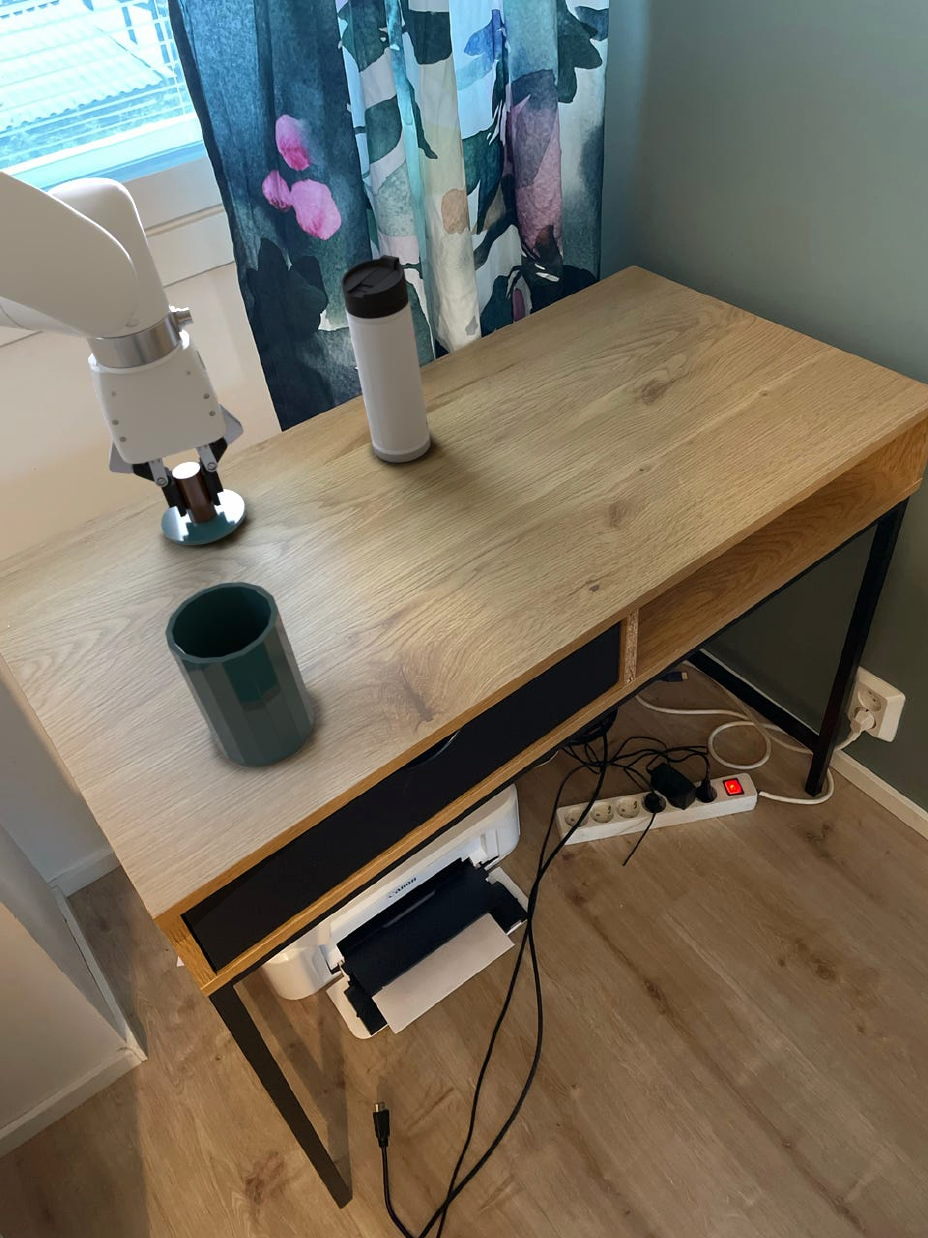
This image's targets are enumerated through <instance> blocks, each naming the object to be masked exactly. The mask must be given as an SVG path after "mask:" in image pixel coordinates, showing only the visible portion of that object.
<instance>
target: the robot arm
mask: <svg viewBox="0 0 928 1238" xmlns="http://www.w3.org/2000/svg"><path fill="white" fill-rule="evenodd" d="M192 324H194V320H193V318H192V315H191V312H190V309H189V308H188V307H186V308H183V309H180V308H176V309H175V307H174V305H173V306H171V305H170V302H169V298H168V296H167V294H166V289H165V288H164V284H163V282H162V279H161V276H160V273H159V271H158V268H157V265H156V262H155V259H154V257H153V253H152V251H151V248H150V244H149V242H148V239H147V236H146V233H145V230H144V228H143V224H142V222H141V219H140V215H139V213H138V209H137V207H136V204H135V202H134V200H133V197H132V196H131V194H130V192H129V191H128V189H127V188H126V187H125V186H124V185H123V184H121V183H119V182H118V181H116V180H114V179H111V178H104V177H88V178H80V179H75V180H72V181H71V180H70V181H67V182H65V183H62V184H59V185H57V186H54V187H53V188H51V189H49V190H48V191H44V190H42V189H40V188H39V187H36V186H34V185H32V184H30V183H29V182H26V181H25V180H22V179H20V178H18V177H15V176H13V175H11V174H8V173H6V172H4V171H2V170H0V327H5V328H11V329H19V330H25V331H35V332H44V333H51V334H59V335H66V336H72V337H77V338H85V339H86V342H87V344H88V346H89V348H90V350H91V354H90V355H89V356H88V358H87V364H88V369H89V375H90V378H91V382H92V384H93V388H94V392H95V395H96V397H97V400H98V403H99V406H100V409H101V413H102V415H103V418H104V420H105V423H106V426H107V428H108V431H109V433H110V436H111V437H110V443H109V450H108V457H107V458H108V459H107V465H108V469H109V471H110V472H112V473H116V474H127V475H131V474H134V475H135V476H137V477H140V478H142V479H145V480H147V481H150V482H153V483H154V484H155V485H156V486H157V487H159V488H161V491H162V493H163V496H164V498H165V500H166V502H167V505H168V508H172V507H175V506H176V507H177V509H178V512H179V514H180V517H184V516H186V514H187V511H186V508H185V505H184V503H183V500H182V498H181V495H180V493H179V490H178V488H177V485H176V483H175V480H174V478H173V476H172V471H173V470H172V469H170V468H169V467H167V466H165V464H164V462H163V458H166V457H169V456H173V455H176V454H180V453H182V452H183V453H184V452H187V451H189V450H193V449H195V450H196V451H197V453H198V455H199V457H198V459H199V461H198V463H197V464H199V465H200V467H201V471H202V474H203V477H204V480H205V483H206V485H207V488H208V491H209V493H210V496H211V499H212V501H213V504H214V506H215V505H216V506H220V505H221V502H220V499H219V496H218V494H217V493H221V492H224V490H223V489H224V487H223V484H222V481H221V479H220V476H219V473H218V471H217V470H218V468H219V462H220V461H221V460H222V458H223V456H224V454H225V452H226V451H227V449H228V446H229V445H230V444H231V445H232V444H233V443H235V441H236V440H237V439H238V438H240V437H241V436H242V435H243V434H244V433H245V432H244V428H243V424H242V423H241V421H239V419H237V418H236V416H234V415H233V414H232V413H231V412H229V410H228V409H226V408H225V407H224V406H223V405H222V404H221V403H220V402H219V399H218V396H217V393H216V390H215V388H214V385H213V383H212V381H211V378H210V376H209V373H208V370H207V368H206V366H205V363H204V361H203V359H202V356H201V355H200V352H199V350H198V348H197V346H196V345H195V342H194V341H193V340H192V338H191V335H190V334H189V333H188V332H187V331H186V330H184V329H183V328H187V326H189V325H192Z"/></svg>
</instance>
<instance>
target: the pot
mask: <svg viewBox="0 0 928 1238" xmlns="http://www.w3.org/2000/svg"><path fill="white" fill-rule="evenodd" d="M164 635H165V638H166V643H167V647H168V649H169V651H170V653H171V655H172V657H173V659H174V661H175V664H176V665H177V667H178V669H179V672H180V673H181V675H182V677H183V679H184V682H185V684H186V685H187V688H188V689H189V691H190V693H191V695H192V698H193V700H194V701H195V704H196V705H197V708H198V709H199V711H200V713H201V715H202V717H203V720H204V722H205V723H206V726H207V728H208V730H209V732H210V734H211V736H212V738H213V740H214V742H215V744H216V745H217V748H218V749H219V750H220V751H221V753H222V754H223V756H225V757H226V758H227V759H228V760H229V761H231V762H233V763H235V764H238V765H239V766H244V767H250V768H251V767H253V768H254V767H255V768H256V767H257V768H259V767H267V766H271V765H275V764H277V763H279V762H282V761H285V760H286V759H288V758H290V757H291V756H293V755H294V754H295V753H296V752H298V751H299V750H300V749H301V748H302V747H303V746H304V745H305V744H306V742H307V741H308V740H309V738H310V736H311V734H312V731H313V729H314V725H315V711H314V707H313V704H312V701H311V698H310V696H309V692H308V690H307V687H306V685H305V682H304V678H303V675H302V673H301V670H300V667H299V665H298V662H297V659H296V656H295V653H294V649H293V648H292V645H291V642H290V639H289V636H288V634H287V630H286V628H285V624H284V622H283V619H282V617H281V614H280V611H279V607H278V605H277V603H276V600H275V597H274V595H273V594H271V593H270V592H269V591H268V590H266V589H265V588H263V586H261V585H257V584H254V583H249V582H247V581H246V582H245V581H236V582H222V583H219V584H215V585H212V586H209V587H206V588H203V589H201V590H199V591H197V592H196V593H194V594H193V595H191V596H190V597H188V598H187V599H185V600H183V601H182V603H181V604H179V605H178V607H177V608H176V609H175V610H174V612H172V614H171V615H170V616H169V618H168V622H167V626H166V628H165V633H164Z"/></svg>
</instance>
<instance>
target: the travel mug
mask: <svg viewBox="0 0 928 1238" xmlns="http://www.w3.org/2000/svg"><path fill="white" fill-rule="evenodd" d="M406 279H407V278H406V272H405V267H404V266H403V264H402V263H401V261H400V257H398V256H394V255H388V254H383V255H381V256H379V258H373V259H369V260H365V261H362V262H360V263H358V264H356V265H354V266H353V267H351V268H350V269H348V270H347V271H346V272H345V273H344V274H343V276H342V278H341V281H340V286H341V292H342V297H343V300H344V306H345V313H346V319H347V323H348V329H349V333H350V334H349V335H350V339H351V343H352V344H351V345H352V348H353V352H354V359H355V363H356V369H357V374H358V379H359V383H360V387H361V388H360V389H361V392H362V398H363V402H364V403H363V404H364V406H365V407H364V408H365V412H366V417H367V423H368V427H369V431H370V436H371V442H372V447H373V452H374V453H375V455H376V456H377V457H378V458H379V459H381V460H383V461H386V462H390V463H407V462H411V461H413V460H416V459H418V458H420V457H422V456H423V455H424V454H425V453H426V452H427V451H428V450H429V449H430V446H431V437H430V431H429V430H430V429H429V424H428V422H429V421H428V416H427V409H426V402H425V396H424V390H423V382H422V377H421V367H420V362H419V355H418V350H417V349H418V347H417V342H416V336H415V329H414V322H413V316H412V315H413V313H412V308H411V302H410V297H409V292H408V286H407V280H406Z"/></svg>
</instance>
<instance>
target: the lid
mask: <svg viewBox="0 0 928 1238" xmlns="http://www.w3.org/2000/svg"><path fill="white" fill-rule="evenodd" d="M171 471H172V476H173V478H174V480H175V483H176V485H177V488H178V490H179V493H180V495H181V498H182V500H183V503H184V505H185V508H186V511H187V514H186V516H184V517H180V514H179V512H178V509H177V507H176V506H175V507H172V508H169V507H168V508H167V509H166V510H165V512H164V513H163V515H162V518H161V522H160V523H161V524H160V527H161V529H162V532H163V535H164V536H165V537H166V538H167V539H168V540H170V542H173V543H175V544H178V545H184V546H200V545H206V544H209V543H213V542H216V541H218V540H220V539H222V538H225V537H227V536H228V535H229V534H231V533H233V532H234V531H235V530H236V529H237V528H238V527H239V526H240V525H241V524H242V522H243V521H244V519H245V518H246V517H245V516H246V512H247V507H246V503H245V501H244V499H243V497H242V496H241V495H240V494H238V493H237V492H235V491H233V490H230V489H226V488H223V490H224V492H221V493H217V494H218V496H219V499H220V502H221V505H220V506H216V505H215V506H214V504H213V501H212V499H211V496H210V493H209V491H208V488H207V485H206V483H205V480H204V477H203V474H202V471H201V467H200V465H199V463H197V462H194V461H188V462H183V463H180V464H178V465H177V466H175V467H174V468H173V470H171Z"/></svg>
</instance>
